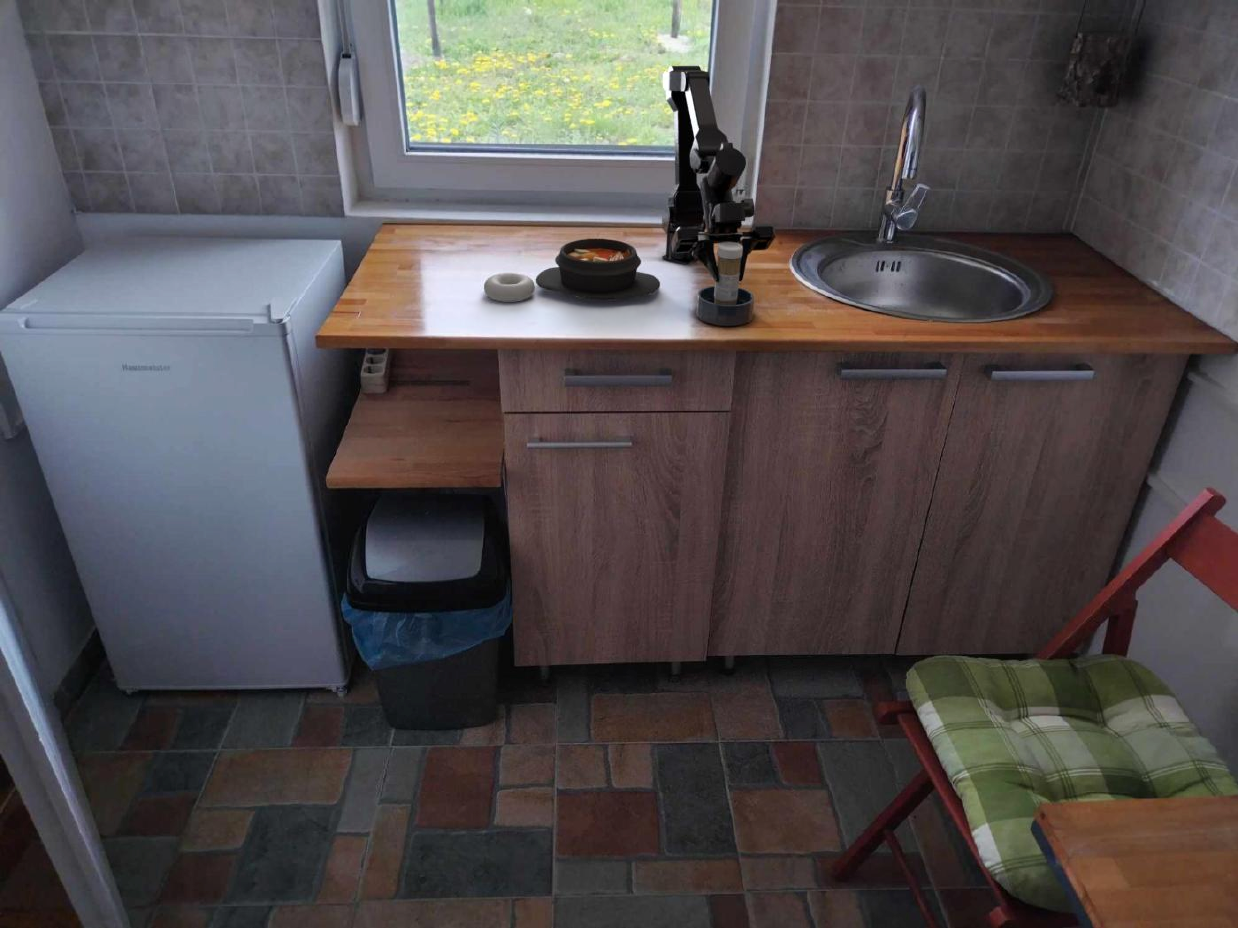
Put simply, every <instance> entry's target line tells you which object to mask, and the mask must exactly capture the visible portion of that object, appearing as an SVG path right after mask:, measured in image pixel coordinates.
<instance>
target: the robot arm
mask: <svg viewBox="0 0 1238 928" xmlns="http://www.w3.org/2000/svg"><path fill="white" fill-rule="evenodd" d="M710 82H711V81H710V71H705V70H703V69H702V68H701V67H700V65H669V67H668V70H667V71H664V72H663V75H662V87H663V90H664V91H665V100H666V102H667V104H668V106H669V107H670V108H671V110H672V112H673V128H674V129H673V130H674V137H673V139H674V180H675V184H674V187H673V189H672V191H671V193H670V194H669V196H668V198H667V199H668V200H667V206H666V207H665V209H664V212H663V215H662V217H661V228H662V230H663V231H664V233H665V234H666V245H665V254H664V255H662V256H661V259H662V260H665V261H670V262H674V263H678V264H679V263H680V264H684V265H690V264H691V263H693V262H694V261H696V260H699V261H700V262H701V264H702V265H703V266H704V267H705V269H706V270H707V271H708V273H709V275H710V276H711V278H712V279H713V280H714V283H715V282H718V281H719V273H718V268H717V259H716V254H715V244H720V243H723V242H735V243H739V244H741V245H742V247H743V252H742V258H741V262H740V277H739V282H742V281H743V280H744V275H745V270H746V264H747V260H748V257H749V255H750V254H751V253H752V251H754V252H755V251H766V250H768V249H769V248H770V247H771V245H772V243H773V242H774V240H775V239H776V237H777V233H776V228H775V227H774V226H773V225H772V224H771V223H764V224H763V223H759V224H753V225H752V226H751V227H750V229H749V231H738V230H739V229H741V228H742V226H743V224H742V222H746V218H752V217H754V216H755V214H756V212H755V210H756V209H755V201H754V197H753V198H743V199H741V200H740V202H736V200H734V196H733V189H734V188H736V186H737V184H738V182H739V181H740V178H741V176H742V175H743V174H744V172H745V169H746V167H747V159H746V157H745V156H744V154H743V153H742V152H741V151H740V150H739V149H736V148H735V147H734V143H733V142H729V140H728V137H727V135H726V134H725V133H724V132H723V131H722V130H720V129H719V127H718V123H717V117H716V113H715V109H714V104H713V100H712V95H711V94H712V93H711V91H710V84H711V83H710ZM705 174H706V175H705ZM698 175H705V176H703V177H702V179H701V181H700V183H699V185H698Z"/></svg>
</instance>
